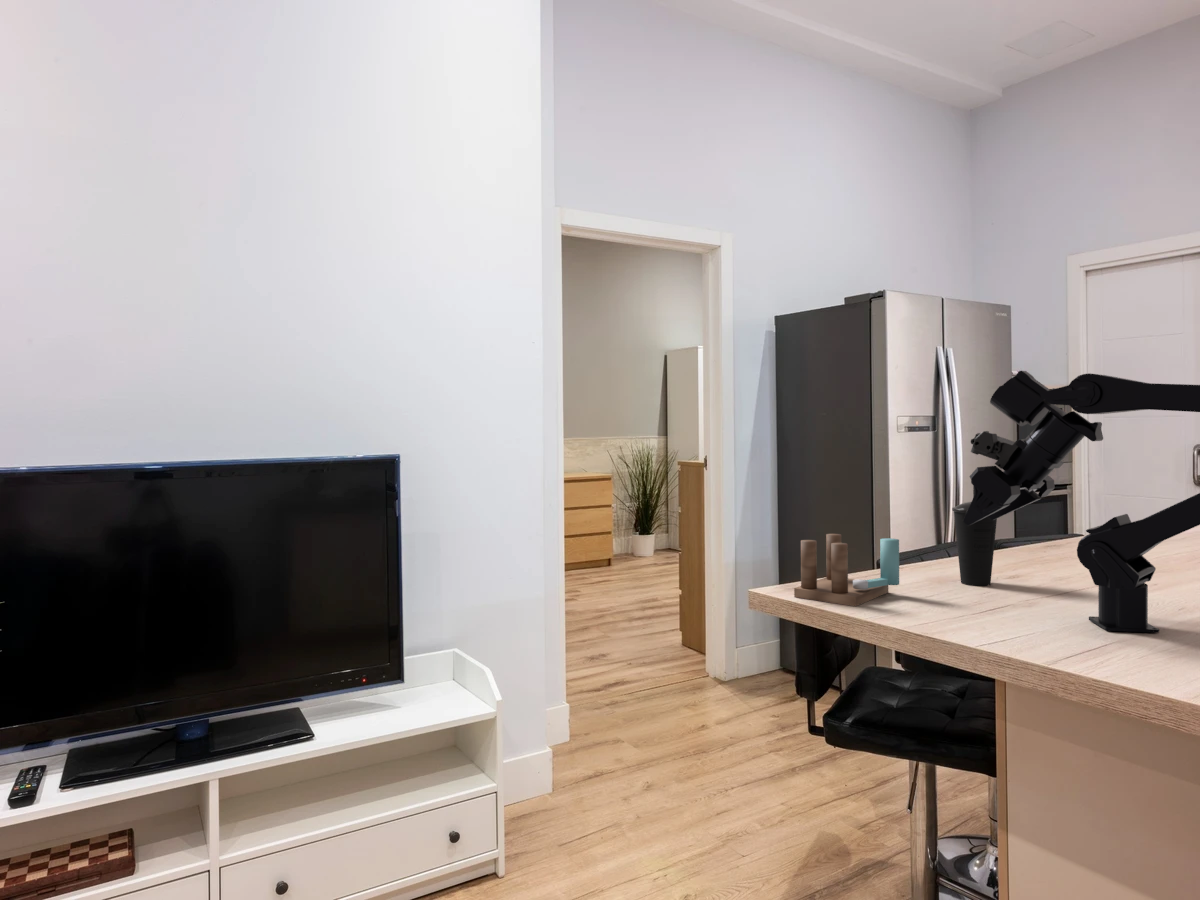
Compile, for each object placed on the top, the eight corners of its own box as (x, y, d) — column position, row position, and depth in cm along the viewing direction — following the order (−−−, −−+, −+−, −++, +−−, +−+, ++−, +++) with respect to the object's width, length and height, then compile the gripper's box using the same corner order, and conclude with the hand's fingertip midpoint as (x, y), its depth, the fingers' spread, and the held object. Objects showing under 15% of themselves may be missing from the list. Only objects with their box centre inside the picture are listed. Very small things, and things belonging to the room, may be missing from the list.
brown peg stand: (888, 592, 131) (888, 537, 131) (855, 606, 121) (855, 547, 121) (829, 584, 138) (829, 532, 138) (794, 597, 129) (793, 541, 128)
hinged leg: (862, 590, 124) (862, 544, 123) (848, 587, 126) (848, 542, 126) (903, 583, 128) (903, 539, 128) (888, 581, 131) (888, 537, 131)
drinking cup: (988, 579, 141) (988, 472, 140) (1006, 587, 133) (1006, 474, 133) (946, 579, 142) (945, 472, 141) (961, 587, 134) (961, 474, 133)
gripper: (1025, 413, 124) (963, 483, 132) (977, 412, 111) (912, 490, 119) (1085, 457, 118) (1016, 528, 125) (1041, 461, 105) (968, 540, 113)
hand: (978, 520), depth 121 cm, fingers open, 9 cm apart
